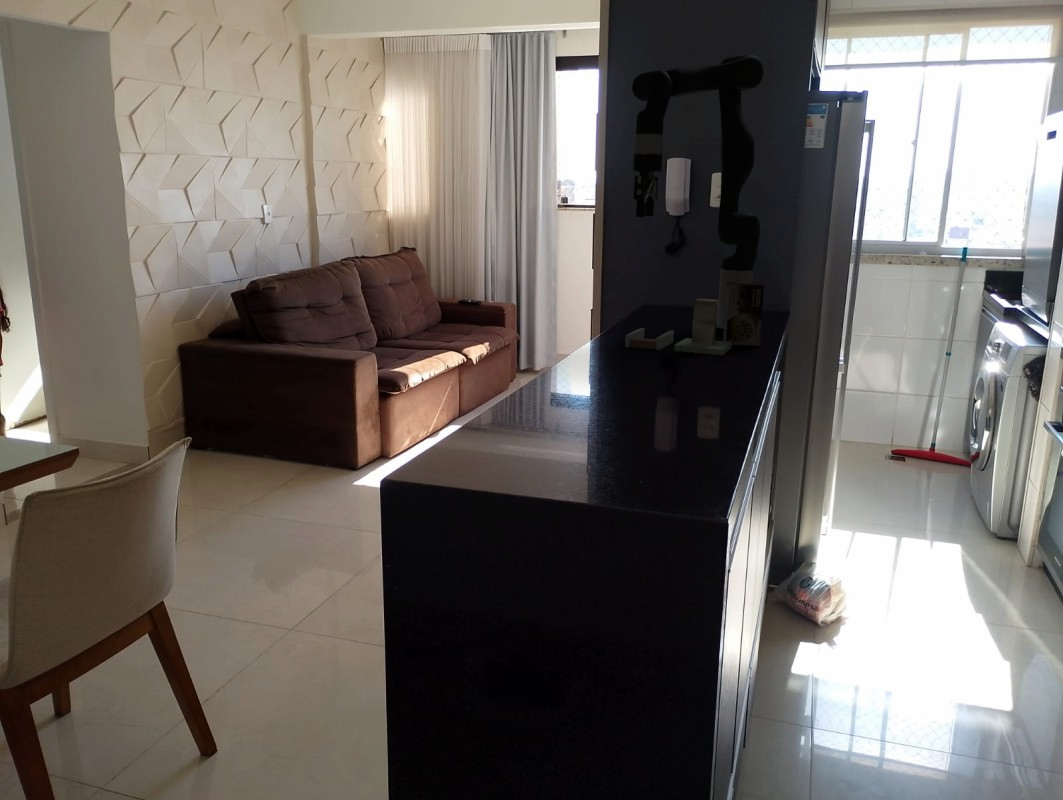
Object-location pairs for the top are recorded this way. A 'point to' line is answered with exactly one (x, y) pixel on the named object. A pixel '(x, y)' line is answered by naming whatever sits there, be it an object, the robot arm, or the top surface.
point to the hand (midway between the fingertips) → (644, 216)
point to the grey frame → (648, 340)
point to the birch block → (704, 322)
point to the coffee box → (743, 313)
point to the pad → (703, 347)
